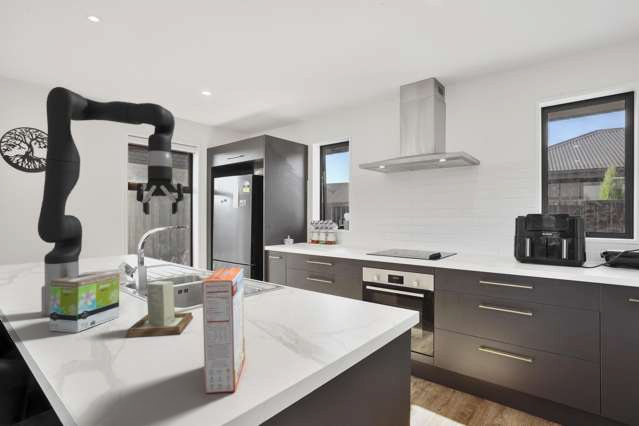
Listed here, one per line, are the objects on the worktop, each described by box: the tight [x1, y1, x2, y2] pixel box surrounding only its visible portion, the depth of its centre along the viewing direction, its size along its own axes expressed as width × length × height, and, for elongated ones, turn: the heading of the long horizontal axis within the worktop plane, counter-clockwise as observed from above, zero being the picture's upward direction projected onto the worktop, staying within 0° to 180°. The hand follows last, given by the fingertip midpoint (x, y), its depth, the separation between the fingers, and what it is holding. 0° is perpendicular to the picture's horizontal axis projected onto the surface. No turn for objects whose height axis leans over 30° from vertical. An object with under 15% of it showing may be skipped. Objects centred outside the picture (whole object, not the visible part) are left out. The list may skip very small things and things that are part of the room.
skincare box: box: [146, 280, 176, 326], centre depth 97 cm, size 6×4×12 cm
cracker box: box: [201, 267, 246, 394], centre depth 68 cm, size 14×6×21 cm, turn 5°
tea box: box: [49, 271, 120, 334], centre depth 101 cm, size 15×10×15 cm, turn 168°
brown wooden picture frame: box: [125, 311, 194, 338], centre depth 97 cm, size 14×14×2 cm
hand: (160, 214), depth 111 cm, fingers open, 8 cm apart
